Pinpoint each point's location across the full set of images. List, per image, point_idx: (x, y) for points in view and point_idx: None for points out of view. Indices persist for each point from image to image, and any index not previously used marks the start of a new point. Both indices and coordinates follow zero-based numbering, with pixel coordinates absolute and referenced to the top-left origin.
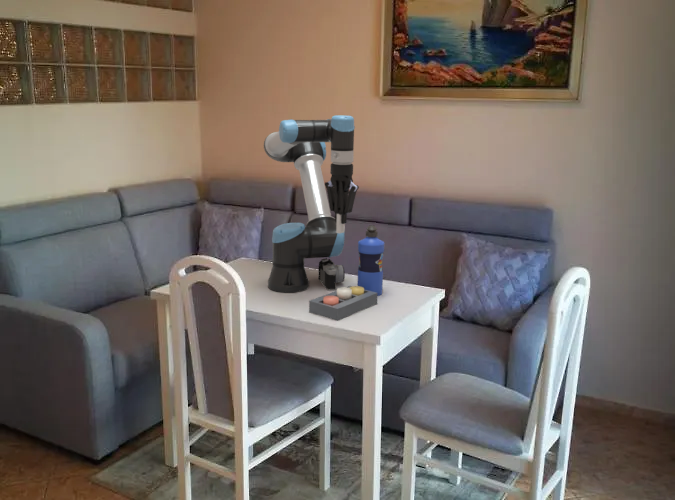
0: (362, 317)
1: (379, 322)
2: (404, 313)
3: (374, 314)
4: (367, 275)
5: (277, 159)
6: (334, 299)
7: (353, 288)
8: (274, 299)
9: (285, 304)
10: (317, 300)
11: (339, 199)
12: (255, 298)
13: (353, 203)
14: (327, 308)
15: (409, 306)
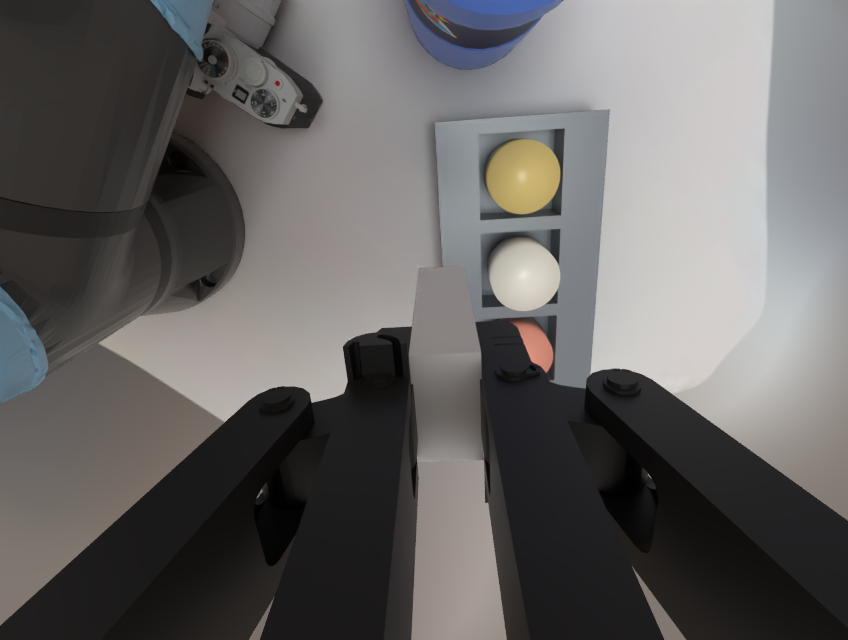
0: (629, 284)
1: (709, 281)
2: (754, 125)
3: (650, 227)
4: (511, 44)
5: None
6: (544, 361)
7: (514, 193)
8: (261, 363)
9: (330, 372)
10: None
11: (400, 635)
12: (212, 399)
13: (800, 492)
14: None
15: (736, 20)
